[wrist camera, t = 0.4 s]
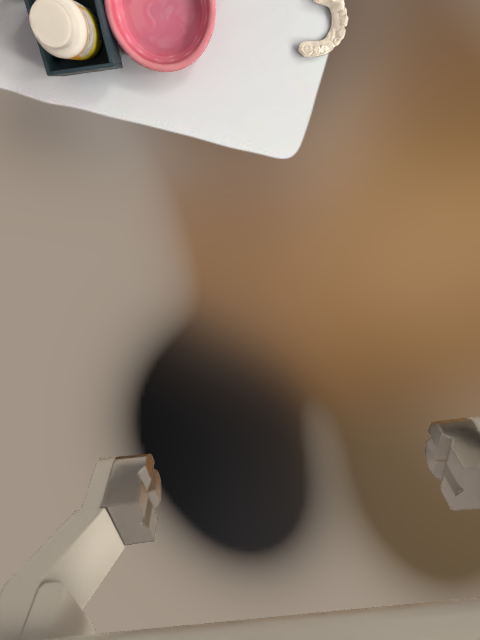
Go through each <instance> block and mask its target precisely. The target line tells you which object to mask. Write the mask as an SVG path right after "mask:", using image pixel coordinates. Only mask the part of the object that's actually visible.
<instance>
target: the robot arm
mask: <svg viewBox="0 0 480 640" xmlns="http://www.w3.org/2000/svg"><path fill="white" fill-rule="evenodd" d="M428 432H429V434H430V436H431V438H430V439H429V440H428V441H426V446H425V455H426V460H427V463H428V466H429V468H430V470H431V472H432V474H433V475H434V476H435V477H436V478H438V479H439V480H441V481H442V483H441V487H440V490H441V492H442V494H443V495H444V497H445V499H446V501H447V503H448V505H449V507H450V508H451V510H452V511H454V510H467V509H480V417H472V418H462V419H453V420H446V421H437V422H432V423H431V424H430V425H429V429H428ZM153 466H154V460H153V457H152V455H151V454H143V455H131V456H119V457H111V458H110V457H109V458H100V459H99V460H98V462H97V463H96V465H95V468H94V471H93V474H92V477H91V480H90V483H89V486H88V489H87V492H86V495H85V498H84V501H83V504H82V507H81V510H77V511H75V512H74V513H73V514H72V515H71V516H70V517H69V518H68V519H67V520H66V521H65V522H64V523H63V524H62V526H60V527H59V528H58V529H57V530H56V532H55V533H54V534H53V535H52V536H51V537H50V538H49V539H48V540H47V541H46V542H45V543H44V544H43V545H42V546H41V547H40V548H39V549H38V550H37V552H35V553H34V554H33V555H32V557H31V558H30V559H29V560H28V561H27V562H26V563H25V564H24V565H23V566H22V567H21V568H20V569H19V570H18V571H17V572H16V573H15V574H14V575H13V576H12V577H11V578H10V579H9V580H8V581H7V583H5V584H4V586H3V588H2V590H1V593H0V640H480V597H477V598H467V599H456V600H445V601H435V602H424V603H414V604H403V605H393V606H382V607H372V608H361V609H351V610H340V611H331V612H320V613H309V614H298V615H288V616H278V617H267V618H256V619H247V620H235V621H226V622H215V623H204V624H193V625H183V626H173V627H163V628H152V629H141V630H131V631H120V632H110V633H99V634H95V628H94V626H93V624H92V623H91V621H90V620H89V619H88V617H87V616H86V615H85V613H84V612H83V608H84V607H85V605H86V604H87V603H88V601H89V600H90V598H91V597H92V595H93V594H94V592H95V591H96V589H97V588H98V586H99V585H100V583H101V582H102V580H103V579H104V577H105V576H106V574H107V573H108V571H109V570H110V569H111V567H112V565H113V564H114V563H115V561H116V560H117V558H118V557H119V555H120V554H121V552H122V551H123V549H124V548H125V546H124V545H130V544H137V543H145V542H153V541H154V539H155V533H156V526H157V520H158V518H157V516H156V513H155V509H156V508H157V507H158V506H159V504H160V498H161V481H160V476H159V473H158V471H157V470H155V469H154V468H153Z"/></svg>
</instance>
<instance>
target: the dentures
mask: <svg viewBox="0 0 480 640" xmlns="http://www.w3.org/2000/svg"><path fill="white" fill-rule="evenodd" d="M313 1H314V2H316V3H318V4H322V5H325V6H327V7H329V8H330V11H331V13H332V25H331V29H330V31H329V33H328V35H327V37H326V38H325V39H323V40H320V41H307V42H303V43H301V44H300V46H299V52H300V53H301V54H302V55H303V56H304V57H317V56H320V55H324V54H326V53H328V52H330V51H331V50H333V48H334V46H337V45H338V44H339V43H340V42H341V39H343V38H344V35H345V31H346V29H344V26H347V22H348V17H347V16H346V15H347V10H346V8H344V1H343V0H313Z"/></svg>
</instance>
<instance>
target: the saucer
mask: <svg viewBox="0 0 480 640" xmlns="http://www.w3.org/2000/svg"><path fill="white" fill-rule="evenodd" d="M104 6H105V12H106V16H107V20H108V23H109V26H110V28H111V31H112V33H113V35H114V37H115V39H116V40H117V42H118V43H119V45H120V46H121V48H122V49H123V50H124V51H125V52H126V54H127V55H129V56H130V57H131V58H132V59H133V60H134V61H136V62H137V63H139V64H140V65H142V66H144V67H146V68H148V69H151V70H154V71H159V72H173V71H178V70H181V69H183V68H185V67H187V66H189V65H190V64H192V63H193V62H194V61H195V60H196V59H198V58H199V56H200V55H201V54H202V53H203V51H204V50H205V48H206V47H207V45H208V43H209V41H210V38H211V36H212V32H213V29H214V24H215V15H216V4H215V0H104Z"/></svg>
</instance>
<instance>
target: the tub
mask: <svg viewBox="0 0 480 640" xmlns="http://www.w3.org/2000/svg"><path fill="white" fill-rule="evenodd" d="M35 1H36V0H24V2H25V5H26V8H27V11H28V14H30V9H31V7H32V5H33V4H34V2H35ZM74 1H76V2H78V3H80V4H82V5H84V6H85V7H87V8H88V9H90V10H91V11H92V12H93V13H94V14H95V15H96V17H97V18H98V20H99V22H100V26H101V30H102V34H103V38H104V42H103V46H102V49H101V51H100V53H99V54H98V55H97V56H96V57H95V58H93V59H91V60H88V61H80V60H73V59H64V58H59V57H56V56H54V55H52V54H50V53H49V52H47V51H46V50H45V49H44V48H43V47H42V46H41V45H40V43H39V42H38V41H37V43H38V46H39V50H40V53H41V56H42V59H43V62H44V65H45V69H46V72H47V75H48V76H68V75H75V74H82V73H89V72H97V71H104V70H111V69H118V68H123V67H122V62H121V58H120V53H119V49H118V45H117V40H116V39H115V37H114V35H113V33H112V31H111V28H110V26H109V23H108V20H107V16H106V12H105V6H104V0H74ZM36 40H37V39H36Z"/></svg>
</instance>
